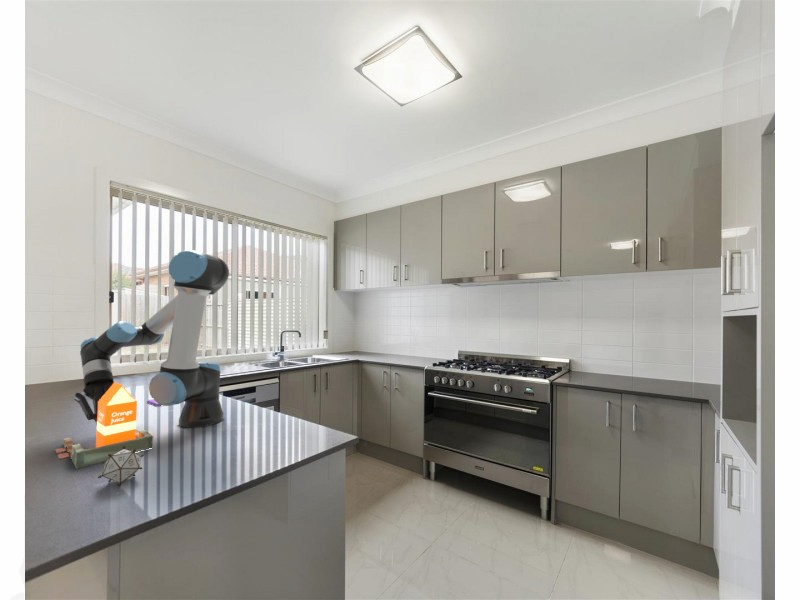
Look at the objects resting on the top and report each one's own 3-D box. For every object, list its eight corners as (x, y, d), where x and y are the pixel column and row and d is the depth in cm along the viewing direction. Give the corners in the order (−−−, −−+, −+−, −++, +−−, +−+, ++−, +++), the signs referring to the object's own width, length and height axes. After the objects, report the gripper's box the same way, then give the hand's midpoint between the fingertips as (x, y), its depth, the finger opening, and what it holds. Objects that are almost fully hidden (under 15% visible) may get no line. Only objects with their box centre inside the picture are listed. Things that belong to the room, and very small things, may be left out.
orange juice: (126, 442, 109) (129, 380, 110) (135, 448, 103) (138, 383, 104) (94, 449, 102) (98, 384, 103) (102, 456, 97) (106, 387, 98)
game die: (117, 495, 83) (121, 454, 89) (151, 481, 84) (153, 442, 90) (85, 493, 76) (91, 449, 81) (122, 478, 77) (127, 435, 82)
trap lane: (63, 445, 106) (64, 432, 106) (130, 431, 119) (130, 419, 119) (76, 468, 90) (77, 453, 90) (152, 449, 103) (152, 435, 103)
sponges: (156, 408, 151) (156, 403, 152) (146, 403, 159) (146, 399, 159) (174, 404, 157) (174, 400, 157) (163, 400, 164) (163, 396, 165)
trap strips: (54, 450, 102) (54, 449, 102) (64, 448, 103) (64, 447, 103) (59, 459, 95) (59, 458, 95) (69, 457, 97) (69, 456, 97)
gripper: (119, 379, 123) (129, 436, 111) (70, 385, 113) (75, 448, 101) (124, 366, 120) (134, 423, 108) (73, 371, 110) (79, 434, 98)
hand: (106, 435), depth 105 cm, fingers closed
